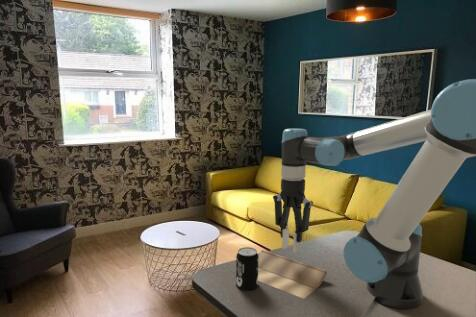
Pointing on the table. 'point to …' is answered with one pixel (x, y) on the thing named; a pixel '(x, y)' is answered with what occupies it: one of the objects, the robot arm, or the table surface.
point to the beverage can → (247, 269)
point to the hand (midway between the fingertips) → (290, 248)
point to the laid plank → (284, 284)
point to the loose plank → (291, 269)
